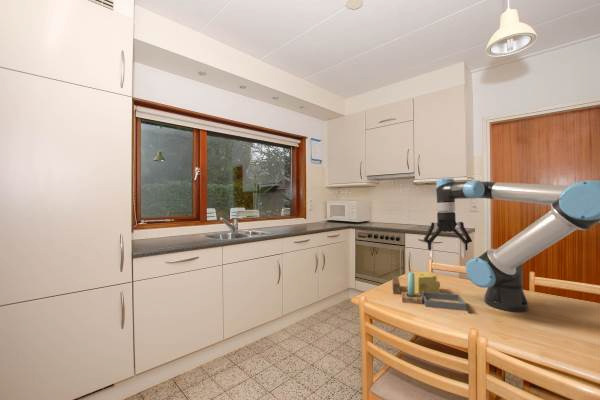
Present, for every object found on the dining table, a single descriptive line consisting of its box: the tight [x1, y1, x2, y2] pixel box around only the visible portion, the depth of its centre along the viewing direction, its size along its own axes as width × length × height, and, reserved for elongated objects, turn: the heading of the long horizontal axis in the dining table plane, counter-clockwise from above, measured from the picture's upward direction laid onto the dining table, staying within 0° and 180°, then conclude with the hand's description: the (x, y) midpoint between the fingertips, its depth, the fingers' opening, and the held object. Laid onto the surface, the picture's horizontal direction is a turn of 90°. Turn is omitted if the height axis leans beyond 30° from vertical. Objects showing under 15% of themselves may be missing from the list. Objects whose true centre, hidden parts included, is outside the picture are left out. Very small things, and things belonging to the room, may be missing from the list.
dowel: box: [407, 271, 415, 297], centre depth 122 cm, size 3×3×12 cm
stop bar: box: [391, 276, 401, 295], centre depth 135 cm, size 3×12×6 cm, turn 163°
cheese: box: [411, 270, 442, 297], centre depth 131 cm, size 10×11×10 cm
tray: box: [421, 292, 467, 311], centre depth 117 cm, size 15×11×4 cm
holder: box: [400, 291, 423, 305], centre depth 122 cm, size 8×8×3 cm
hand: (447, 257), depth 127 cm, fingers open, 13 cm apart
